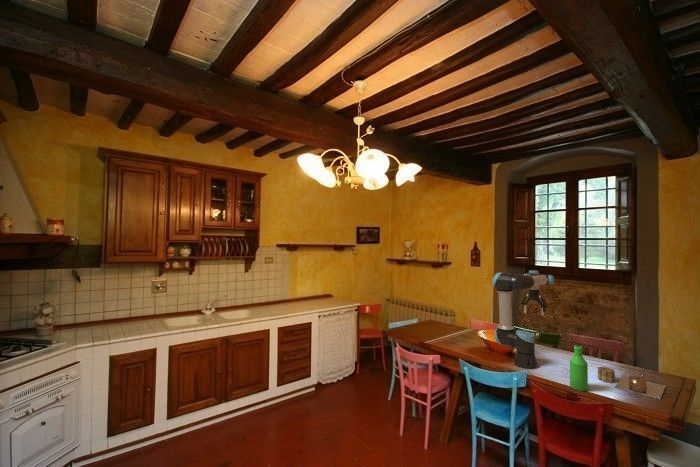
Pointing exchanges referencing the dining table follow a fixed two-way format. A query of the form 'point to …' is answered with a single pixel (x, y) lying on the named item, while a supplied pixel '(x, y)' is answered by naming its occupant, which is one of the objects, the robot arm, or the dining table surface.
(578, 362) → the bottle
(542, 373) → the dining table surface
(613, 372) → the planet gear
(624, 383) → the carrier
